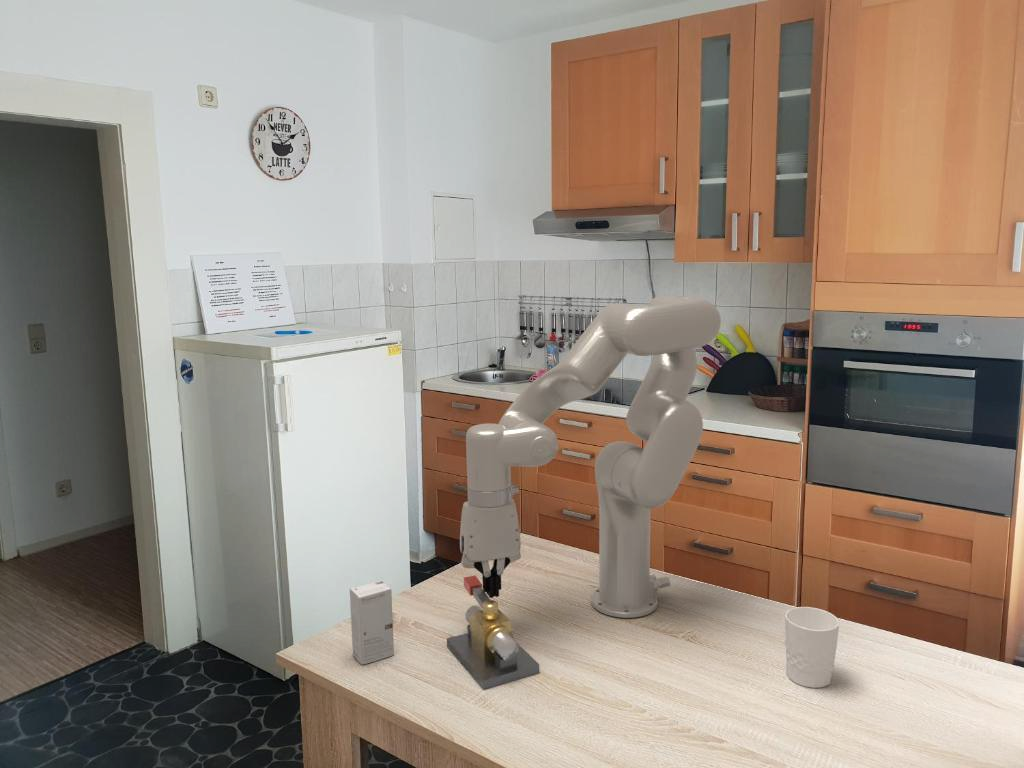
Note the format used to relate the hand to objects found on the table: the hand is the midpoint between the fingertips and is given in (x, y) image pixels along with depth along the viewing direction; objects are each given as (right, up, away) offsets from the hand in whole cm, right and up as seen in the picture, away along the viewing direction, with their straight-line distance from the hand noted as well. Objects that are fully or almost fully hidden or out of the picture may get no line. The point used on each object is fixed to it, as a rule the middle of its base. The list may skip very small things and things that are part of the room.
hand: (492, 594), depth 139 cm
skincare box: (-20, -9, -6) cm, 23 cm away
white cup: (+51, -9, -15) cm, 54 cm away
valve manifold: (0, -9, -8) cm, 12 cm away
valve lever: (-2, 0, -4) cm, 5 cm away
